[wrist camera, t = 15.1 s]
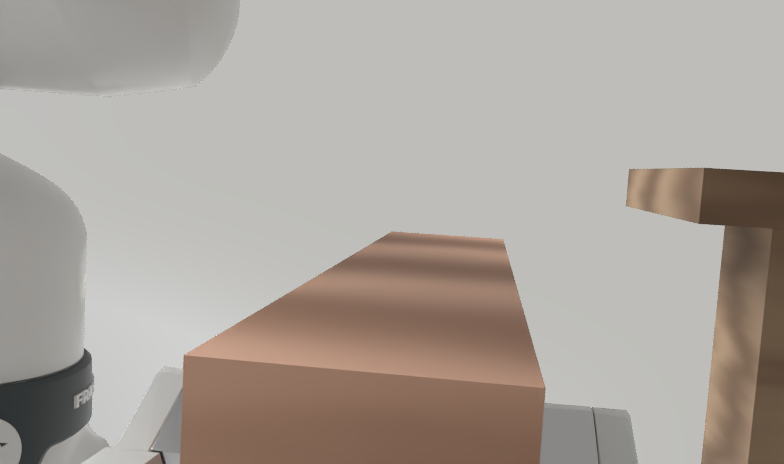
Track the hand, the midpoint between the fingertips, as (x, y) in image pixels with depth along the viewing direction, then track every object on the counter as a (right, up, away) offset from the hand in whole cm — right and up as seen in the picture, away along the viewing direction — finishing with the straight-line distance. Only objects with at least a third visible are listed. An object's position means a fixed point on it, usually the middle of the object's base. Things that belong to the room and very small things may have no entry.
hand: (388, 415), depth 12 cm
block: (+1, -2, +6) cm, 7 cm away
